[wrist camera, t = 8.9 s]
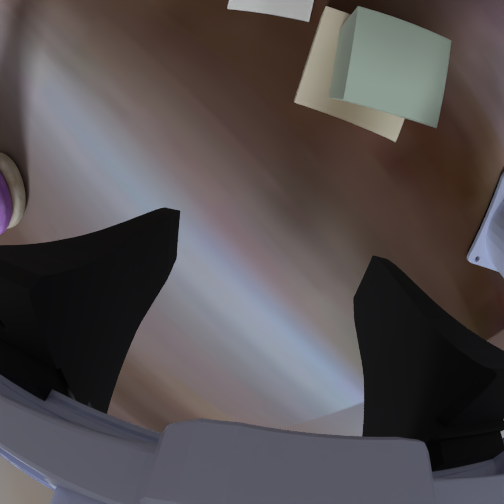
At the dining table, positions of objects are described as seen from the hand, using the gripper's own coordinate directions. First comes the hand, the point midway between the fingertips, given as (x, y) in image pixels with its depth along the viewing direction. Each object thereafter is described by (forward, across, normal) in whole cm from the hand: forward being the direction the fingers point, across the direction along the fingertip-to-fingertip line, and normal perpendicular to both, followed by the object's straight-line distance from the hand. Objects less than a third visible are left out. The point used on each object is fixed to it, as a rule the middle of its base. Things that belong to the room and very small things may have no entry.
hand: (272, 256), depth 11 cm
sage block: (+7, -3, -8) cm, 11 cm away
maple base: (+10, -3, -8) cm, 13 cm away
